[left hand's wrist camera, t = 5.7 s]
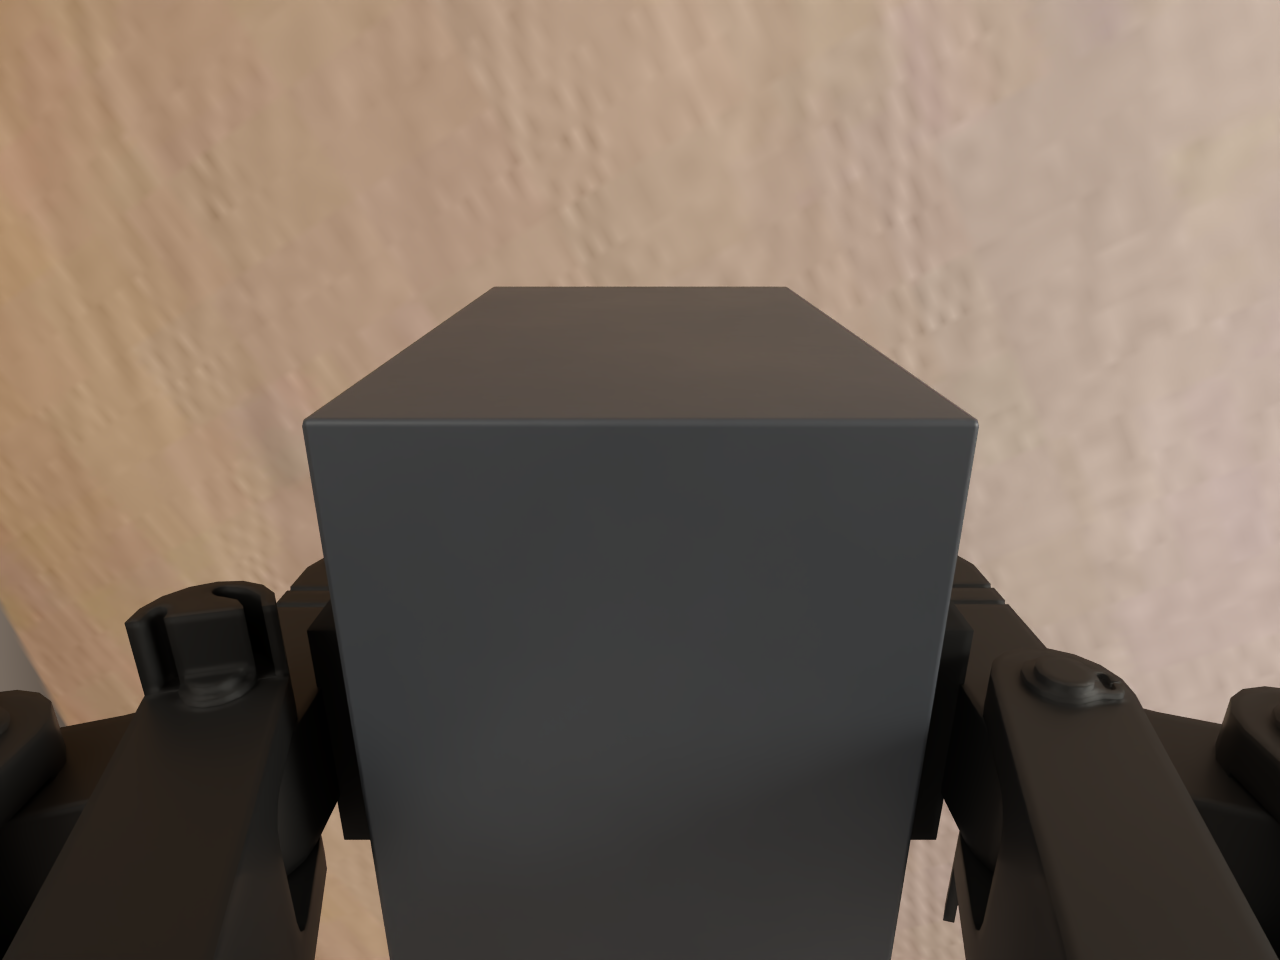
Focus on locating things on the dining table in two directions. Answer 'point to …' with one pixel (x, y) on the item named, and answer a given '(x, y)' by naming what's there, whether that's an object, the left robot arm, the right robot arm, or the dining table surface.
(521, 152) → the dining table surface
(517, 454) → the bar
